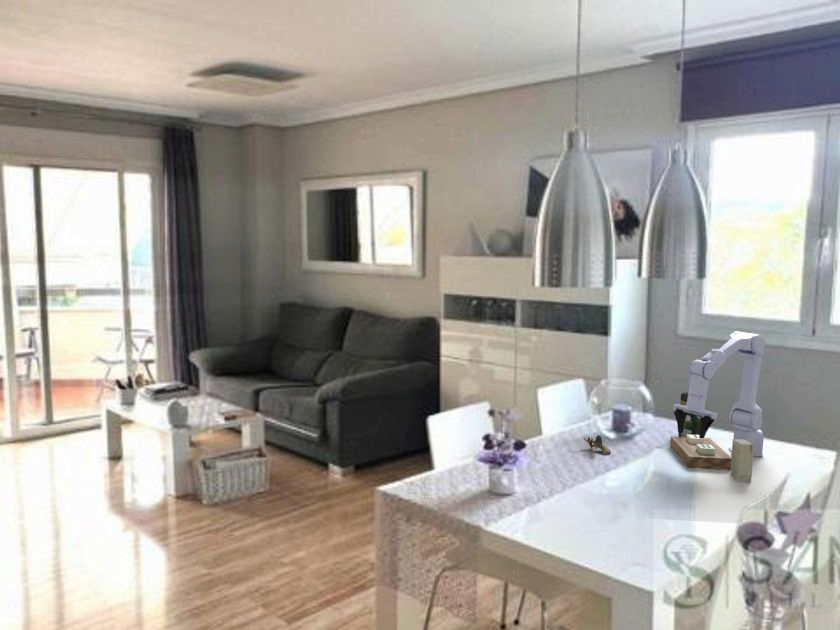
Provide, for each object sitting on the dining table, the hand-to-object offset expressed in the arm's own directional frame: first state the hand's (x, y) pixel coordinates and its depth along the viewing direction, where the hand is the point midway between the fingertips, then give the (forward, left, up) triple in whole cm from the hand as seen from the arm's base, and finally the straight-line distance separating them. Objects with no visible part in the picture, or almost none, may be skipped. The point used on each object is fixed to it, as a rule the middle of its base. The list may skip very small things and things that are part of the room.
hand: (690, 435), depth 238 cm
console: (-6, -9, -11) cm, 15 cm away
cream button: (-6, -15, -8) cm, 18 cm away
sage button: (-6, -3, -8) cm, 10 cm away
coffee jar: (-10, -34, -11) cm, 37 cm away
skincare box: (-13, +11, -11) cm, 20 cm away
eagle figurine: (+29, -11, -11) cm, 32 cm away
